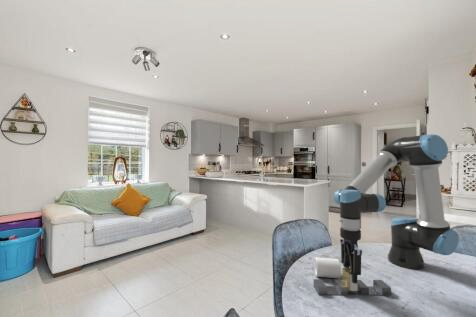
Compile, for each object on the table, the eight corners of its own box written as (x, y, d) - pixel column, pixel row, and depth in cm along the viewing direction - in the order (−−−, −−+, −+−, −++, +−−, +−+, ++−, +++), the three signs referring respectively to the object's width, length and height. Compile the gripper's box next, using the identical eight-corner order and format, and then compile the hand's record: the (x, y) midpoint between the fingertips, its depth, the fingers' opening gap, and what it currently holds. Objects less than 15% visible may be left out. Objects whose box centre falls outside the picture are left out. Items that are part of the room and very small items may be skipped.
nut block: (352, 285, 93) (352, 268, 93) (357, 290, 89) (357, 272, 89) (342, 285, 93) (342, 267, 93) (346, 290, 89) (347, 272, 89)
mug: (341, 282, 98) (341, 263, 98) (317, 279, 100) (316, 261, 100) (335, 269, 110) (335, 252, 110) (313, 267, 112) (313, 251, 112)
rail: (381, 287, 94) (381, 279, 94) (391, 295, 88) (391, 287, 88) (313, 286, 94) (313, 279, 94) (318, 294, 88) (318, 287, 88)
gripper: (332, 222, 100) (332, 276, 100) (351, 234, 83) (351, 299, 83) (349, 223, 100) (349, 276, 99) (371, 234, 83) (372, 299, 82)
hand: (350, 286), depth 91 cm, fingers closed on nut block, 4 cm apart
